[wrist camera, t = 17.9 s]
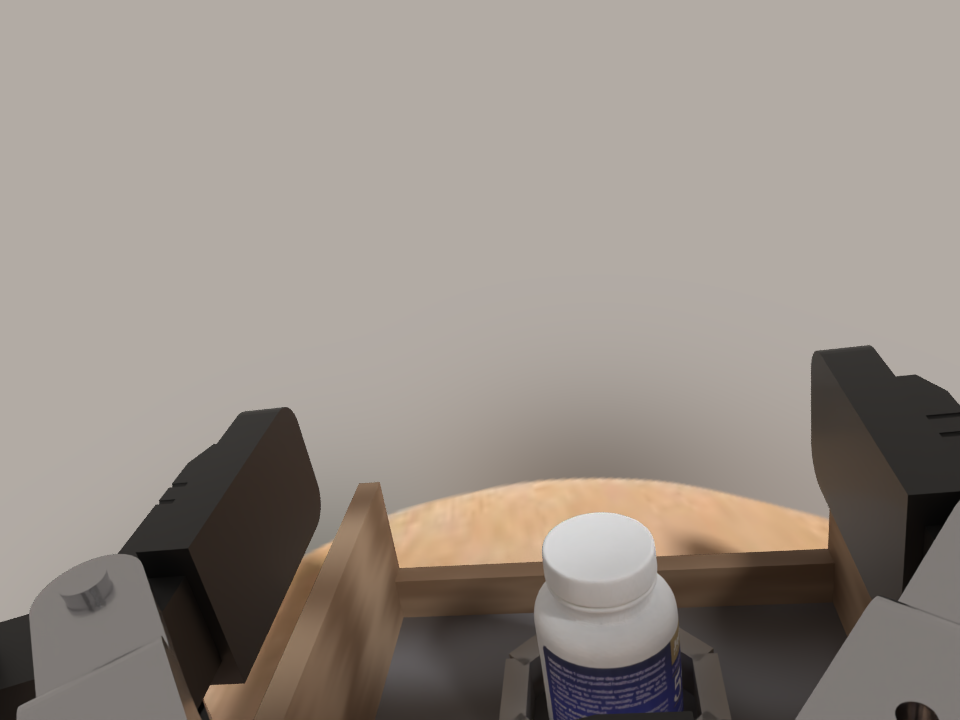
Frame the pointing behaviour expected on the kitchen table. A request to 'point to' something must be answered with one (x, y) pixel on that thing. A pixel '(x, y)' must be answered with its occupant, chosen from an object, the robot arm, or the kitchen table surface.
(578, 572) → the pill bottle
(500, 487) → the kitchen table surface
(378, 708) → the walled box
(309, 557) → the kitchen table surface
